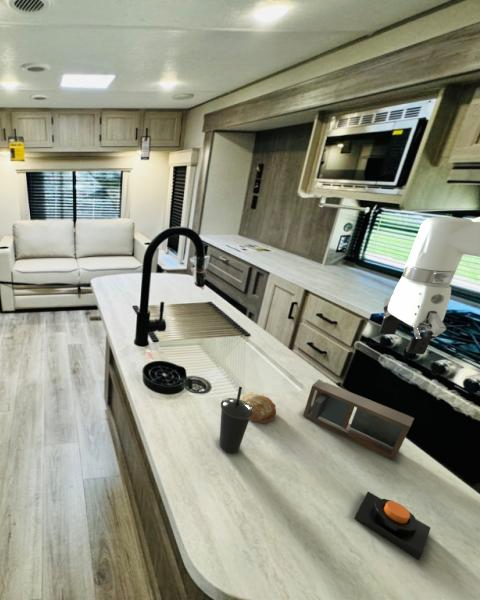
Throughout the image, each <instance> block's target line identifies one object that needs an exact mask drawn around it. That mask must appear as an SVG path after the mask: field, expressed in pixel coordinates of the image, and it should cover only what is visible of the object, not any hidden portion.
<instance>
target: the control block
mask: <svg viewBox="0 0 480 600" xmlns="http://www.w3.org/2000/svg"><path fill="white" fill-rule="evenodd" d="M388 501H393V502H395V501H394V500H390V499H388V498H381V497H379V496H377V495H375V494H374V493H372V492H370V491H367V492H366V494H365V496H364V497H363V500H362V502H361V503H360V505H359V507H358V509H357V511H356V513H355V515H354V518H353V519H354V520H355V521H357V522H358V523H359V524H361V525H362V526H365V527H366V528H367V529H368V530H370V531H372V532H374V533H375V534H377V535H378V536H379V537H381V538H383V539H384V540H386V541H387V542H389V543H390V544H392V545H394V546H395V547H397V548H398V549H400V550H401V551H403V552H404V553H406V554H407V555H409V556H411V557H412V558H413V559H415V560H416V561H420V560H421V558H422V555H423V554H424V552H425V548H426V544H427V541H428V538H429V534H430V532H431V528H432V527H431V526H429V525H428V524H426V523H424V522H422V521H421V520H418V519H417V518H416V517H415V515H414V514H413V513H411V512H410V511H409V513H410V518H409V520H408V522H407V523H405V524H401V523H398V522H396V521H394V520H393V519H391V518H389V517H388V516H387V515H386V514H385V512H384V507H385V505H386V503H387V502H388Z"/></svg>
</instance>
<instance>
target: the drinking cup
mask: <svg viewBox="0 0 480 600" xmlns="http://www.w3.org/2000/svg"><path fill="white" fill-rule="evenodd" d="M242 390H243V387H242V386H238V391H237V396H236V398H235V397H228V398H227V397H226V398H224V399H222V400H221V402H220V408H221V409H220V427H219V430H220V431H219V448H220V449H221V450H222V451H224V452H225V453H227V454H230V455H231V454H232V455H233V454H236V453H238V452H239V450H240V447H241V445H242V442H243V439H244V436H245V433H246V430H247V429H248V428H247V427H248V425H249V423H250V420H251V419H250V417H251V416H252V414H253V410H252V408H251V407H250V406H249V405H248V404H247V403H246V402H244V401H242V400H241V395H242Z"/></svg>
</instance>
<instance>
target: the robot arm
mask: <svg viewBox="0 0 480 600" xmlns="http://www.w3.org/2000/svg"><path fill="white" fill-rule="evenodd" d="M464 255H465V256H467V255H468V256H471V257H472V256H473V257H478V258H480V216H478V217H475V218H472V219H470V218H469V219H468V218H464V217H463V218H462V217H452V216H451V217H448V216H435V217H429V218H426V219H425V220H423V221H422V223H421V224H420V227H419V229H418V231H417V235H416V237H415V240H414V243H413V245H412V248H411V251H410V254H409V256H408V258H407V261H406V264H405V267H404V269H403V273H402V275H401V277H400V279H399V280H398V282H397V284H396V286H395V288H394V290H393V292H392V294H391V296H389V297H385V298H384V306H383V312H384V313H383V314H382V318H383V320H382V322H381V324H380V327H379V330H378V334H379V333H380V334H382V335H395V334H396V332H397V330H398V328H399V325H400V322H402V323H404V324H406V325H408V326H409V327H412V328H413V333H414V336H411V337H410V339H409V342H408V344H407V347H406V349H405V352H406V353H407V354H413V355H424V354H426V352H427V349H428V347H429V345H430V342H431V341H433V340H435V339H436V338H439V337H440V336H441V334H443V333H444V332H445V331H446V330H447V326H446V325H445V323H444V322H443V321H444V319H445V316H446V313H447V311H448V307H449V304H450V301H451V295H452V286H451V283H452V281H453V278H454V276H455V274H456V271H457V269H458V267H459V265H460V263H461V261H462V258H463V256H464ZM422 330H425V331H423V332H422Z"/></svg>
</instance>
